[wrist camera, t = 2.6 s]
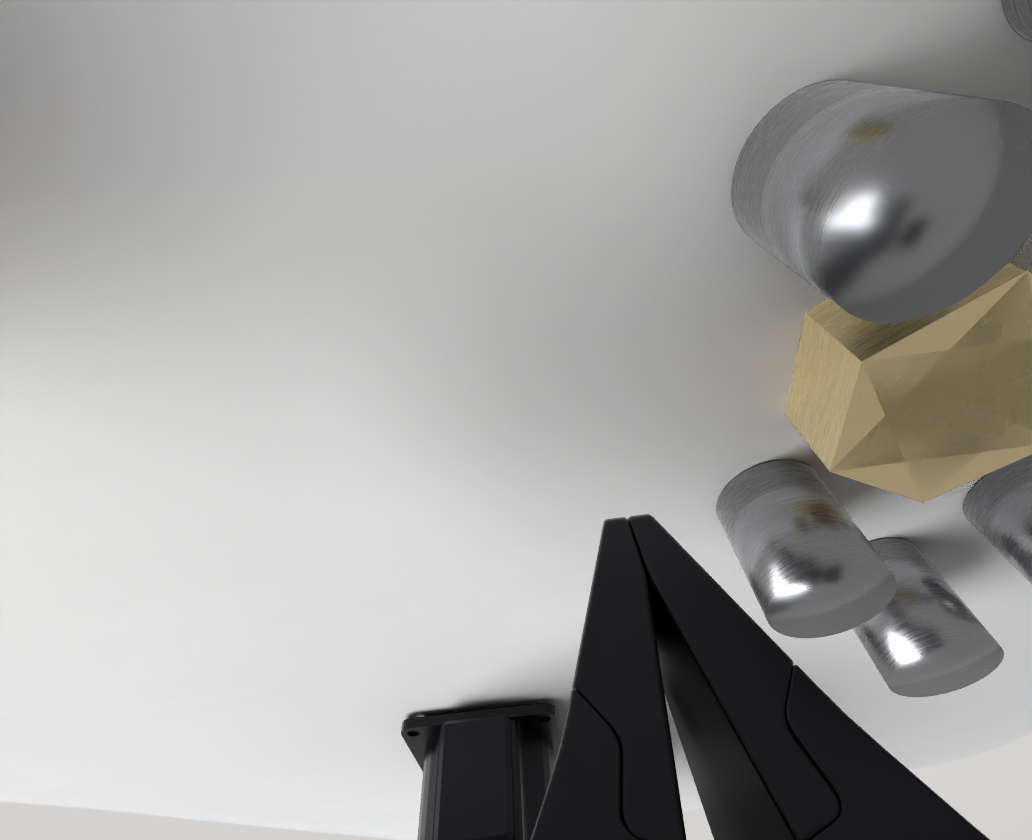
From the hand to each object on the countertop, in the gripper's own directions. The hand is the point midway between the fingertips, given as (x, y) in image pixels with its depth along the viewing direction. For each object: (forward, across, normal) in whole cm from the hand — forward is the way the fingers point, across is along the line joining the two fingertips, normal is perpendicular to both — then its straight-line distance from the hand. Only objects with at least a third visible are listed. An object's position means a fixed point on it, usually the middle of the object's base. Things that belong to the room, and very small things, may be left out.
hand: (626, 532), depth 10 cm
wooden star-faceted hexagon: (+4, -8, 0) cm, 9 cm away
